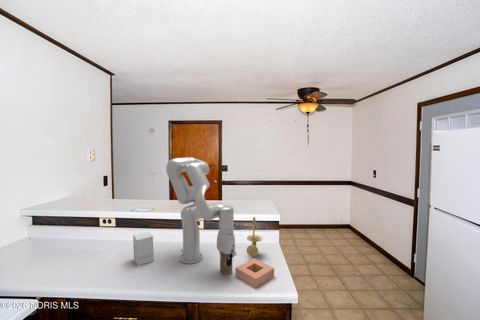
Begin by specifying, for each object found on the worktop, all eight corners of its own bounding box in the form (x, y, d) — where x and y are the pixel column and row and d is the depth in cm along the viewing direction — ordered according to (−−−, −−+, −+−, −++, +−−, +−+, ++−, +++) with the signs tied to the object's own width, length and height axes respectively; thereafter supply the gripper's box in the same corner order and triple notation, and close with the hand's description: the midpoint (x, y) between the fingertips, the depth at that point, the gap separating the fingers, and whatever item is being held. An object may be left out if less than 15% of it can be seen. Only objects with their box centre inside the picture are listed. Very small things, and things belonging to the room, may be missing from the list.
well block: (235, 276, 123) (235, 267, 123) (253, 266, 133) (253, 258, 133) (255, 288, 114) (255, 279, 113) (274, 276, 123) (274, 268, 123)
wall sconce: (260, 263, 136) (261, 220, 134) (244, 261, 138) (244, 219, 136) (263, 252, 150) (263, 213, 148) (248, 250, 152) (248, 211, 149)
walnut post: (220, 272, 127) (220, 248, 126) (226, 268, 130) (226, 245, 129) (225, 275, 124) (225, 251, 123) (232, 272, 127) (232, 248, 126)
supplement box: (149, 255, 145) (149, 231, 144) (154, 261, 138) (153, 236, 136) (133, 259, 140) (132, 234, 138) (137, 266, 132) (136, 239, 131)
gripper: (210, 227, 128) (210, 260, 130) (232, 236, 116) (231, 272, 118) (221, 224, 134) (221, 255, 135) (242, 232, 122) (242, 267, 123)
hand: (226, 263), depth 127 cm, fingers closed on walnut post, 4 cm apart
